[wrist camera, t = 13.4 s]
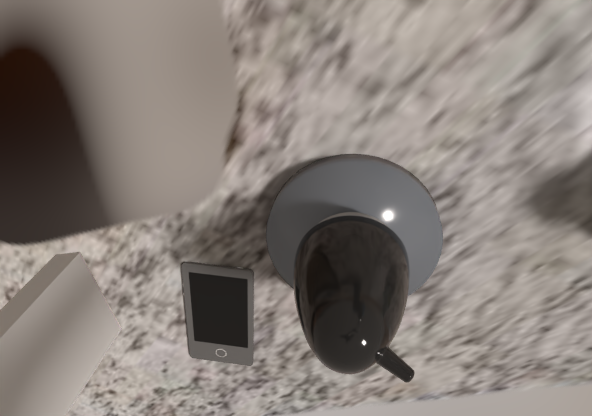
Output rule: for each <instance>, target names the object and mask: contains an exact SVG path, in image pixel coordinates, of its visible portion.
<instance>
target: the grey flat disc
mask: <svg viewBox="0 0 592 416" xmlns="http://www.w3.org/2000/svg"><path fill="white" fill-rule="evenodd" d="M344 212H358V213H363V214H367V215H370V216H373V217H375V218H377V219H379V220H380V221H382V222H383V223H384V224H386V225H387V226H388V227H389V228H390V229H391V230H393V231H394V232H395V233H396V234H397V235H398V237H399V238H400V239H401V241H402V242H403V244H404V246H405V248H406V251H407V254H408V258H409V266H410V278H409V289H408V296H409V295H411V294H412V293H413V292H415V291H416V290H417V289H419V288H420V287H421V286H422V285H423V284H424V283H425V282H426V281H427V279H428V278H429V277H430V275H431V274H432V273H433V271H434V269H435V267H436V265H437V263H438V261H439V258H440V255H441V250H442V244H443V233H442V225H441V222H440V218H439V214H438V211H437V208H436V205H435V202H434V200H433V198H432V196H431V195H430V193H429V192H428V190H427V189H426V187H425V186H424V185H423V184H422V183H421V182H420V180H419V179H418V178H416V177H415V176H414V175H413V174H412V173H410V172H409V171H407V170H406V169H404V168H403V167H401V166H399V165H397V164H395V163H393V162H391V161H388V160H385V159H382V158H379V157H375V156H369V155H361V154H346V155H337V156H332V157H328V158H324V159H321V160H318V161H316V162H314V163H312V164H309V165H307V166H306V167H304V168H303V169H301V170H300V171H298V172H297V173H296V174H295V175H293V176H292V177H291V178H290V179H289V180H288V181H287V182H286V183H285V185H284V186H283V187H282V189H281V190H280V192H279V193H278V195H277V197H276V199H275V201H274V204H273V206H272V209H271V212H270V215H269V219H268V222H267V230H266V241H267V247H268V251H269V254H270V257H271V260H272V262H273V264H274V266H275V268H276V269H277V271H278V272H279V274H280V275H281V276H282V278H283V279H284V280H285V281H286V282H287V283H288V284H289V285H290V286H291V287H292V288H293V289H294V282H293V273H294V260H295V255H296V251H297V248H298V245H299V243H300V241H301V240H302V238H303V237H304V235H305V234H306V233H307V232H308V231H309V230H310V229H311V228H313V227H314V226H315V225H317V224H318V223H319V222H321V221H322V220H324V219H326V218H328V217H330V216H332V215H335V214H339V213H344Z"/></svg>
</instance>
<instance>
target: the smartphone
mask: <svg viewBox="0 0 592 416" xmlns="http://www.w3.org/2000/svg"><path fill="white" fill-rule="evenodd" d="M182 278H183V284H182V286H183V289H184V292H183V295H184V300H185V310H186V321H187V331H188V342H189V353H190V356H191V357H192V358H197V359H204V360H211V361H218V362H226V363H233V364H240V365H247V366H251V365H252V364H253V315H254V274H253V271H252V270H251V269H245V268H243V267H237V268H236V267H228V266H219V265H211V264H202V263H194V262H183V264H182Z"/></svg>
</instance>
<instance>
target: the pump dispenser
mask: <svg viewBox="0 0 592 416" xmlns="http://www.w3.org/2000/svg"><path fill="white" fill-rule="evenodd" d="M409 278H410V266H409V258H408V254H407V251H406V248H405V246H404V244H403V242H402V241H401V239H400V238H399V237H398V235H397V234H396V233H395V232H394V231H393V230H391V229H390V228H389V227H388V226H387V225H386V224H384V223H383V222H382V221H380V220H379V219H377V218H375V217H373V216H370V215H367V214H363V213H358V212H344V213H339V214H335V215H332V216H330V217H328V218H326V219H324V220H322V221H321V222H319V223H318V224H317V225H315V226H314V227H313V228H311V229H310V230H309V231H308V232H307V233H306V234H305V235H304V237H303V238H302V240H301V241H300V243H299V245H298V248H297V251H296V255H295V260H294V273H293V282H294V296H295V303H296V308H297V312H298V316H299V320H300V323H301V327H302V330H303V332H304V335H305V337H306V340H307V342H308V344H309V346H310V348H311V349H312V351H313V352H314V354H315V355H316V357H317V358H318V359H319V360H320V361H321V362H322V363H323V364H324V365H325V366H326V367H328V368H329V369H331V370H333V371H335V372H338V373H342V374H356V373H360V372H362V371H364V370H366V369H368V368H370V367H371V366H372V365H374V364H375V363H377V364H379V365H380V366H382V367H383V368H385V369H386V370H388V371H389V372H391V373H392V374H394V375H395V376H397V377H398V378H400V379H401V380H403V381H404V382H410V381H411V380H412V378H413V377H414V370H413V369H412V368H411V367H410V366H409V365H407V364H406V363H405V362H404V361H403V360H402V359H401V358H400V357H398V356H397V355H396V354H395V353H394V352H393V351H392V350H391V349H390V348H389V345H390V343H391V342H392V340H393V338H394V337H395V335H396V333H397V331H398V328H399V326H400V323H401V320H402V317H403V314H404V311H405V307H406V302H407V297H408V289H409Z"/></svg>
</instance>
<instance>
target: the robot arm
mask: <svg viewBox="0 0 592 416" xmlns="http://www.w3.org/2000/svg"><path fill="white" fill-rule="evenodd" d="M121 329H122V328H121V326H120V325H119V323H118V321H117V319H116V317H115V315H114V314H113V312H112V310H111V308H110V306H109V304H108V302H107V301H106V299H105V297H104V295H103V293H102V291H101V290H100V288H99V286H98V284H97V282H96V280H95V278H94V277H93V275H92V273H91V271H90V269H89V267H88V266H87V264H86V262H85V260H84V258H83V256H82V254H81V253H80V252H76V253H67V254H57V255H55V256H54V257H53V258H52V259H51V260H50V261H49V262H48V263H47V264H46V265H45V266H44V267H43V268H42V269H41V270H40V271H39V272H38V273H37V274H36V275H35V276H34V277H33V278H32V279H31V280H30V281H29V282H28V283H27V284H26V285H25V286H24V287H23V288H22V289H21V290H20V291H19V292H18V293H17V294H16V295H15V296H14V297H13V298H12V299H11V300H10V301H9V302H8V303H7V304H6V305H5V306H4V307H3V308H2V309H1V310H0V416H66V415H67V413H68V412H69V410H70V409H71V407H72V406H73V404H74V402H75V401H76V399H77V398H78V396H79V395H80V393H81V392H82V390H83V388H84V387H85V385H86V384H87V382H88V381H89V379H90V378H91V376H92V374H93V373H94V371H95V370H96V368H97V367H98V365H99V364H100V362H101V360H102V359H103V357H104V356H105V354H106V353H107V351H108V350H109V348H110V346H111V345H112V343H113V342H114V340H115V339H116V337H117V336H118V334H119V332H120V331H121Z"/></svg>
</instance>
